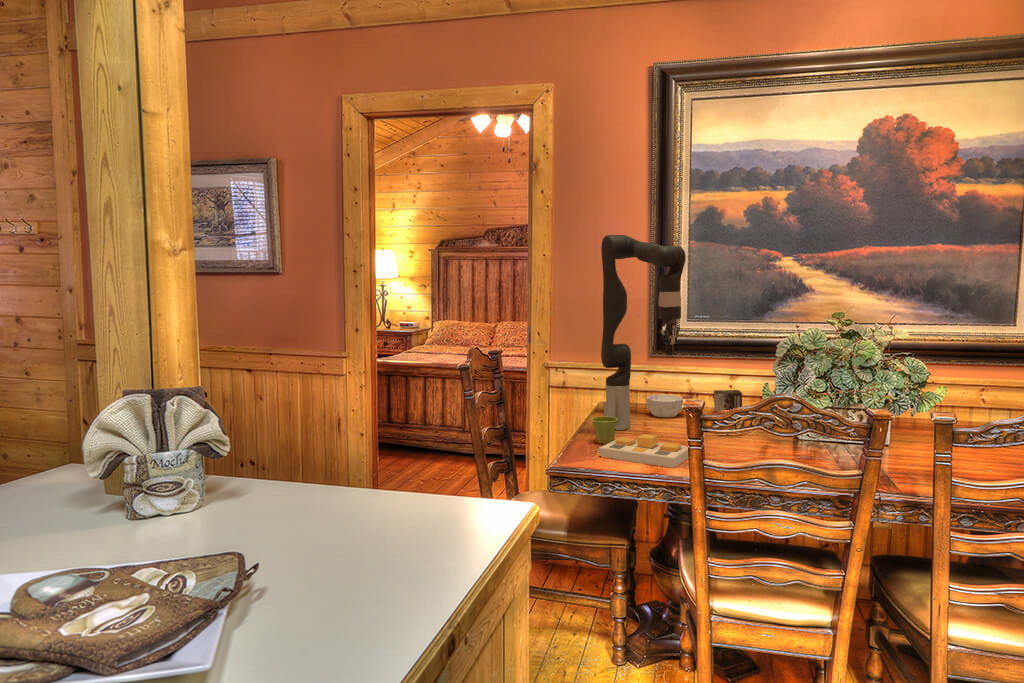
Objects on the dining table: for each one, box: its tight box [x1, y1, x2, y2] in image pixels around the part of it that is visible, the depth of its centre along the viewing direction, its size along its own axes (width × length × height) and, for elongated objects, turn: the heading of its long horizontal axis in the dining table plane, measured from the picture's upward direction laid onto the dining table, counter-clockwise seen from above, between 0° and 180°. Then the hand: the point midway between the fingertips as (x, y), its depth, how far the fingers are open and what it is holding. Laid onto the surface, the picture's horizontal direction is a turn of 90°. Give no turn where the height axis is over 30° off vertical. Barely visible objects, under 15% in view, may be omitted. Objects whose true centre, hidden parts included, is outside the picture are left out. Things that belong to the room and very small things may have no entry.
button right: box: [660, 442, 682, 452], centre depth 213 cm, size 5×5×3 cm
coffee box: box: [713, 389, 744, 435], centre depth 243 cm, size 9×6×16 cm
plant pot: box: [591, 416, 618, 445], centre depth 236 cm, size 9×9×9 cm
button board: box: [598, 438, 689, 469], centre depth 217 cm, size 26×16×3 cm, turn 55°
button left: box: [615, 436, 637, 446], centre depth 223 cm, size 5×5×3 cm
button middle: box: [636, 433, 659, 448], centre depth 218 cm, size 5×5×3 cm
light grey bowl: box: [645, 393, 684, 419], centre depth 278 cm, size 15×15×8 cm
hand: (669, 355), depth 226 cm, fingers closed
